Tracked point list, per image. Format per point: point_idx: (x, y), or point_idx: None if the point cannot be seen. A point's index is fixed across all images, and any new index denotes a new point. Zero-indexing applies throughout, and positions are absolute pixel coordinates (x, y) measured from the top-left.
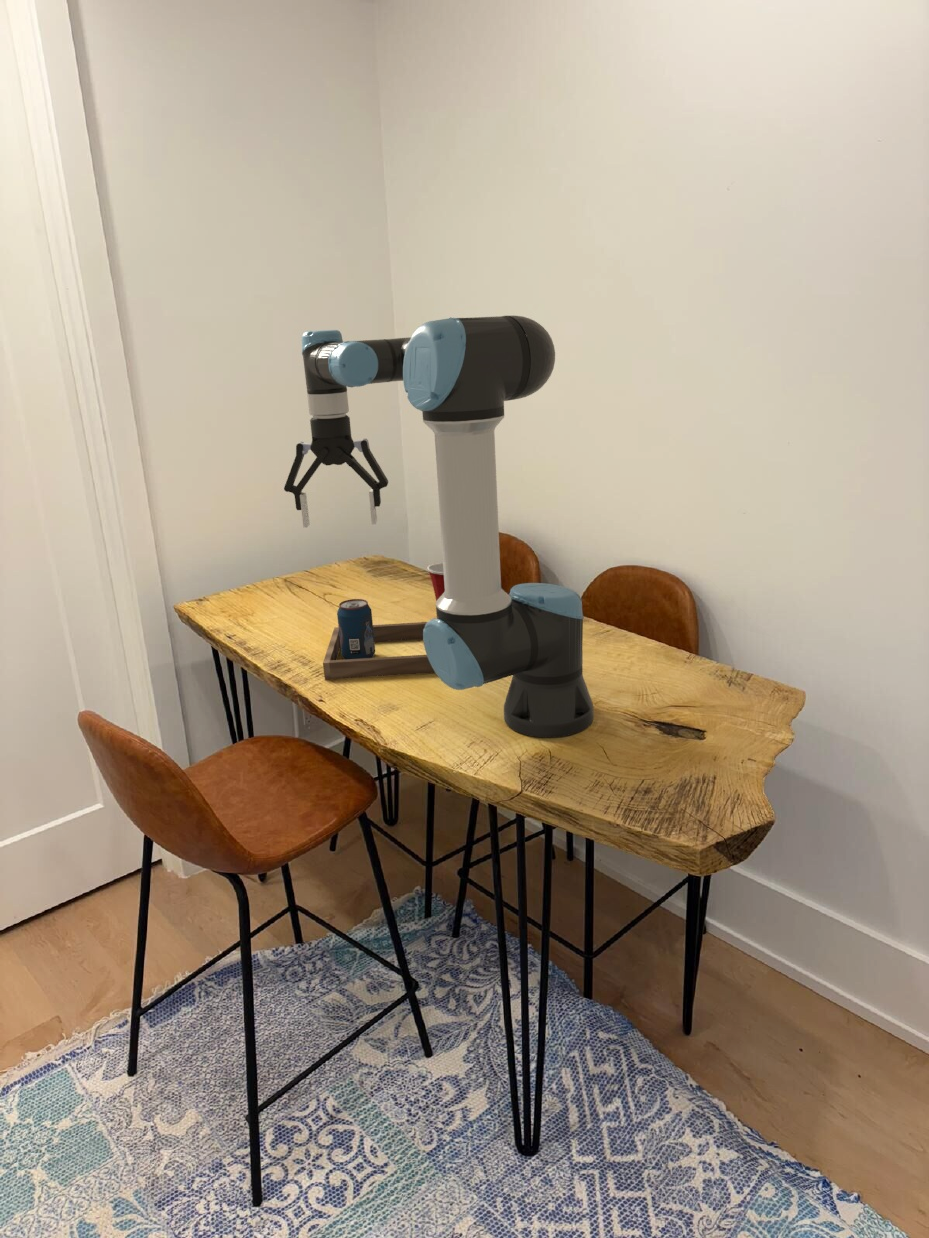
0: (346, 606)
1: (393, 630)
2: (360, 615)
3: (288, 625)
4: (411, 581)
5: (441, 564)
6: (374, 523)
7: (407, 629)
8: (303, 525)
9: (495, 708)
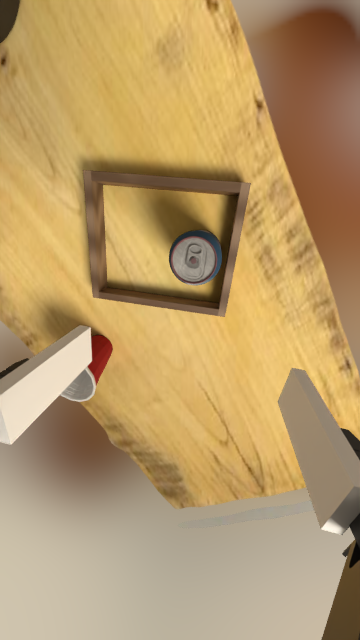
0: (205, 259)
1: (156, 298)
2: (185, 233)
3: (273, 376)
4: (142, 442)
5: (82, 398)
6: (81, 327)
7: (140, 296)
8: (306, 374)
9: (35, 22)
